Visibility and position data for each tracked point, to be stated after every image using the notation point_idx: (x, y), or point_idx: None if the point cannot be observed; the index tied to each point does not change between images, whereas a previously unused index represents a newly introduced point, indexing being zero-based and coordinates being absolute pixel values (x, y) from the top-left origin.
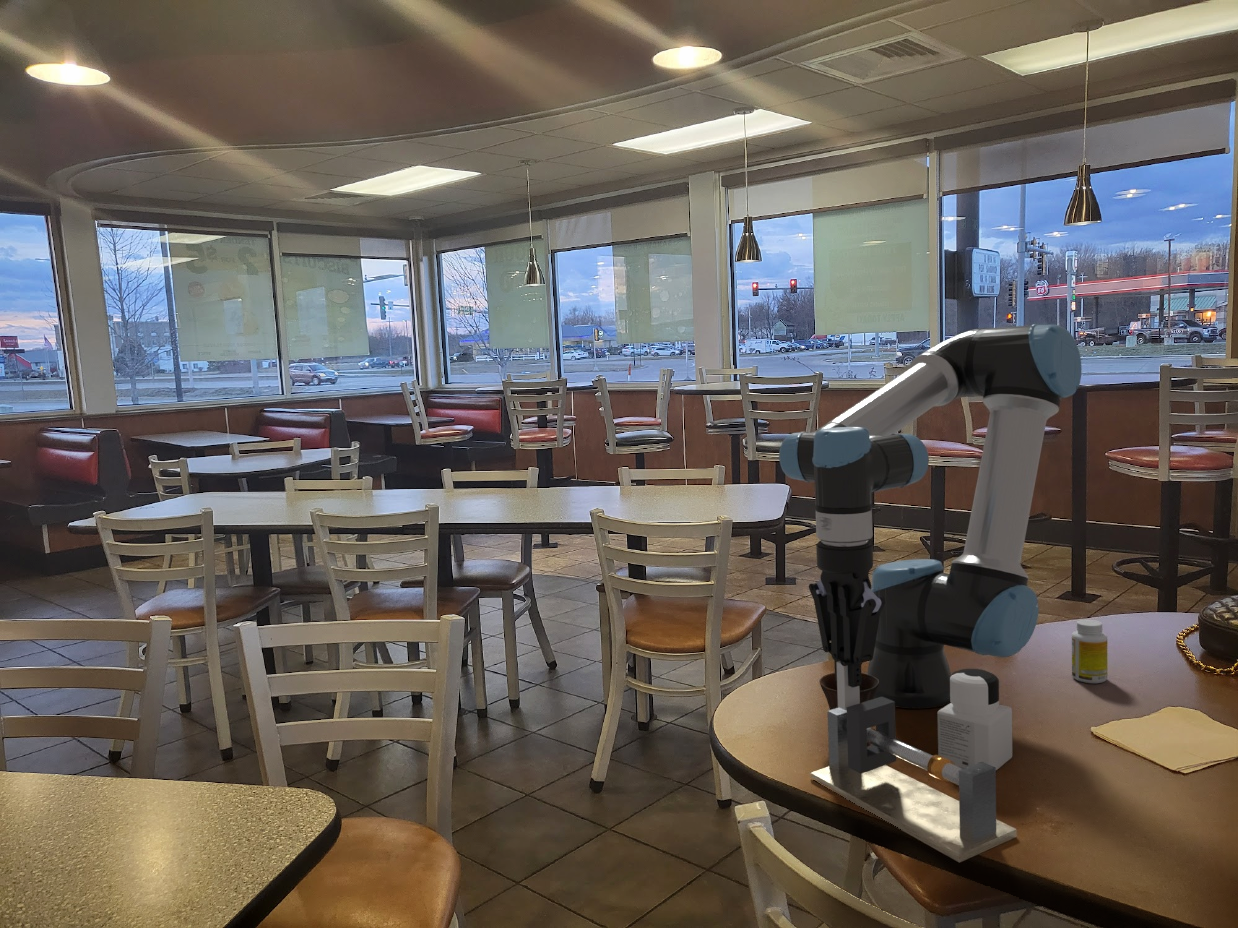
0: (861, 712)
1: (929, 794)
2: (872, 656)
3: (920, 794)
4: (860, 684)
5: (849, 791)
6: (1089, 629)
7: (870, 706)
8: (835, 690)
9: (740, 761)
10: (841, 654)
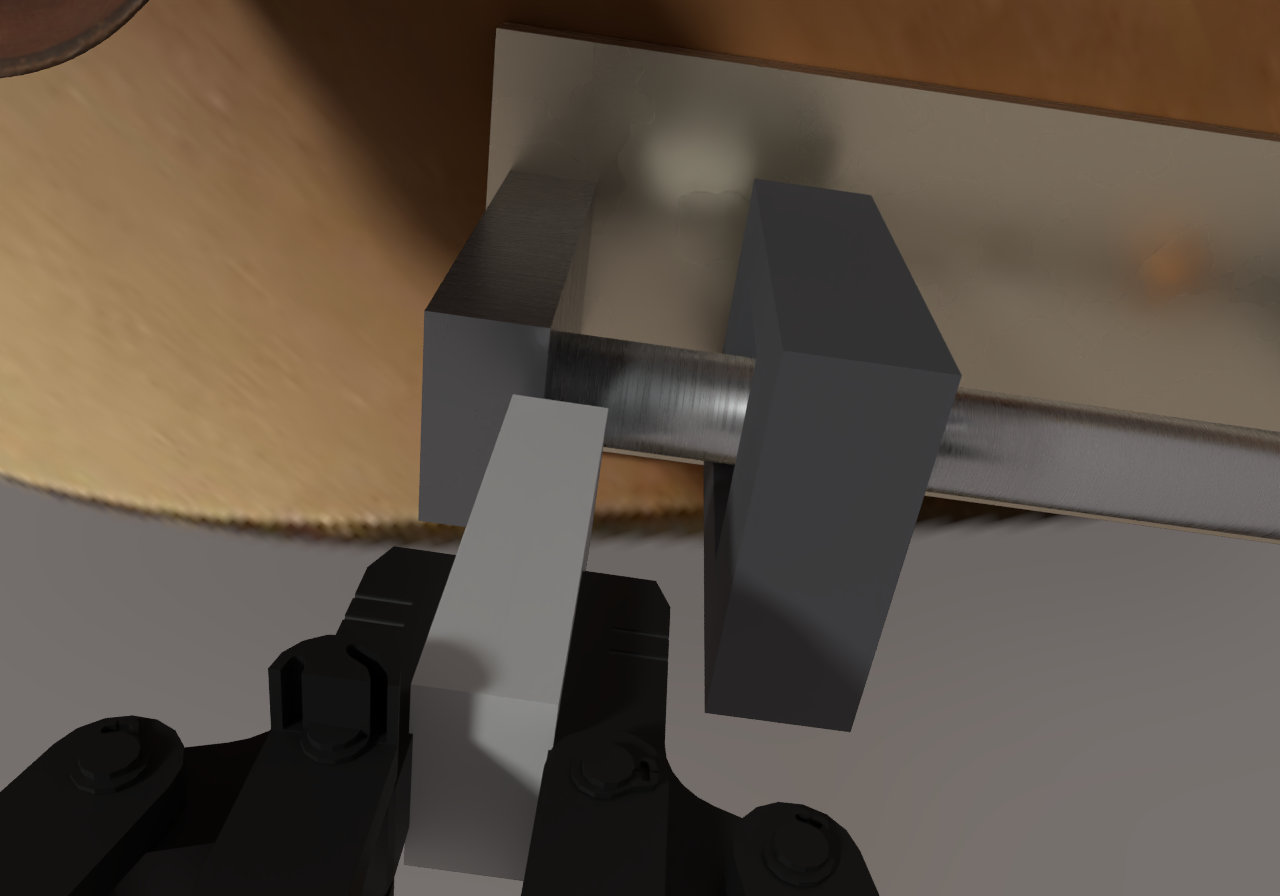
0: (855, 709)
1: (1106, 194)
2: (865, 882)
3: (1064, 232)
4: (658, 593)
5: None
6: None
7: (844, 592)
8: (35, 67)
9: (112, 502)
10: (388, 878)
